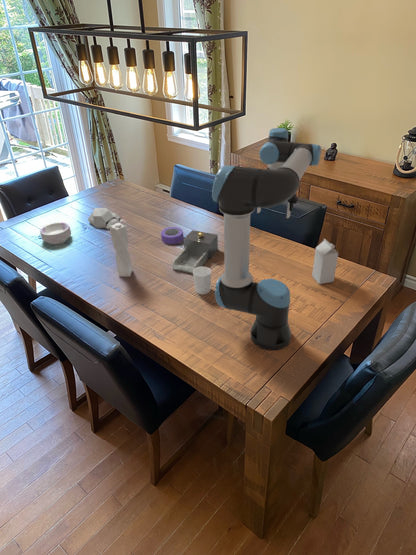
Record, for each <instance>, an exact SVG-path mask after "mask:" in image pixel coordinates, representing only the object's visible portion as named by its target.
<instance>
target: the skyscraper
mask: <svg viewBox="0 0 416 555" xmlns="http://www.w3.org/2000/svg"><path fill="white" fill-rule="evenodd" d="M122 221H123V222H124V223H125V224H123V223H121V222H122ZM109 232H110V236H111V242H112V245H113V249H114V251H115V260H116V268H117V274H118V277H131V275H132V272H133V265H132V259H131V255H130V252H129V249H128V244H129V243H128V241H129V240H128V239H129V235H128V227H127V221H126V220H124V219H119V223H115V225H112V226H111V225H110V231H109Z"/></svg>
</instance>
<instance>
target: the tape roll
mask: <svg viewBox="0 0 416 555" xmlns="http://www.w3.org/2000/svg"><path fill="white" fill-rule="evenodd" d="M160 237H161V242H163V244H167V245H176V244H178V243H181V242H183V241H184V238H185V237H184V230H183V229H182V228H181V227H179V226H169V227H168V226H167V227H166V228H164V229H162V230H161V232H160Z"/></svg>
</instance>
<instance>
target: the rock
mask: <svg viewBox="0 0 416 555" xmlns="http://www.w3.org/2000/svg"><path fill="white" fill-rule="evenodd" d="M120 217H121V216H120V215H119V214H117V213H116V212H112V211H111V210H110V209H108V208H107V207H103V208H102V207H96V208H95V207H94V209H93V211H92V213H91V214H90V215H89V217H87V220H88V221H89V224H90V225H92V226H93V227H94V228H97V229H103V228H104V229H106V230H107V231H108V230H110V225H111V226H112V225H115V223H119V222H120V219H121V218H120Z"/></svg>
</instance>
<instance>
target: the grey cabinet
mask: <svg viewBox="0 0 416 555" xmlns="http://www.w3.org/2000/svg"><path fill="white" fill-rule="evenodd" d="M183 238H184V239H183V249H182V250H181V251H180V252H179V253H178V254H177V255H176V256H175V257H174V259H172V261H171V263H172V265H171V266H172V270H173V271H176V272H181V273H186V274H189V275H190V274H191V275H193V270H194V269H195V268H197V267H202V266H203V267H204V265H205V264H206V263H207V261H208V260H211V259H212V258H213V256H215V254H216V253H217V251H218V250H219V247H218V246H219V244H218V242H219V240H218V239H219V237H218V234H216V233H210V232H204V231H198V230H194V229H192V230H191V231H190V232H189V233H188V234H187V235H186V236H185V237H183Z"/></svg>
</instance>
